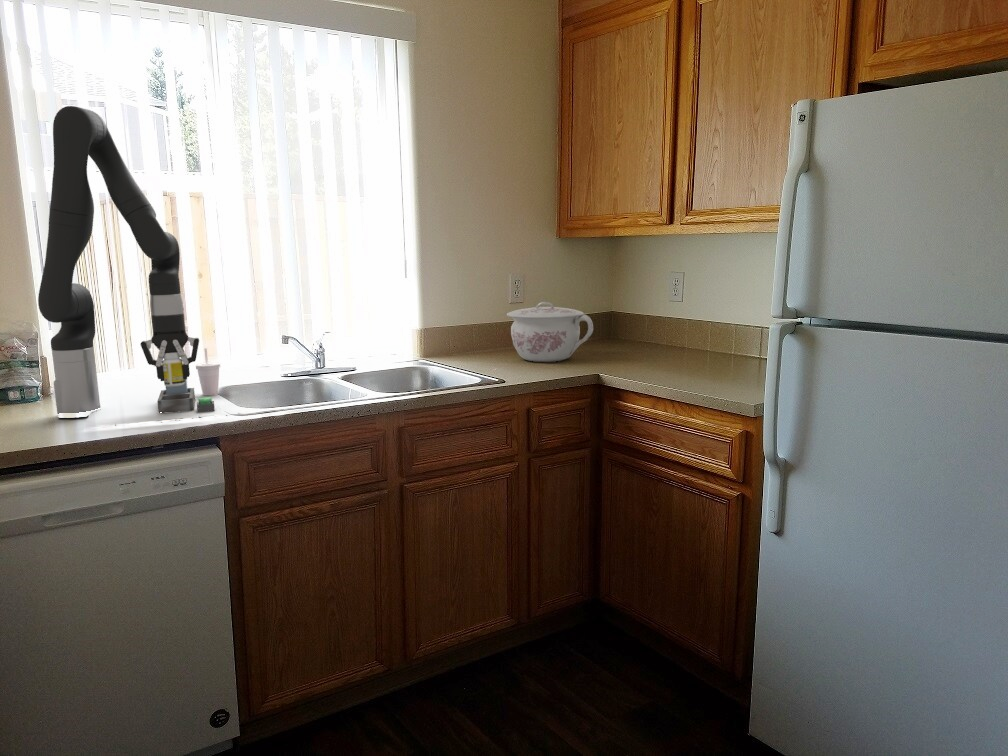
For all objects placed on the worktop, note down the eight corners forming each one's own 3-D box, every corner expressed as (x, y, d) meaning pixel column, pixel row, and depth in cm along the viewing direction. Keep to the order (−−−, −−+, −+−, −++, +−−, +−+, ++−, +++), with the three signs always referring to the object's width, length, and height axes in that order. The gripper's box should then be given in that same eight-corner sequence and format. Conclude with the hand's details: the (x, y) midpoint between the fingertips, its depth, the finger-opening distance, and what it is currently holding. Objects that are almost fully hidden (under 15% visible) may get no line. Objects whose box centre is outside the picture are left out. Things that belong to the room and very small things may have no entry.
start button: (199, 416, 189) (198, 400, 189) (199, 413, 192) (198, 397, 192) (213, 415, 191) (211, 399, 190) (213, 412, 193) (211, 396, 193)
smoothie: (215, 395, 217) (211, 346, 214) (227, 397, 213) (223, 348, 210) (194, 398, 212) (189, 349, 209) (206, 401, 208) (201, 350, 205)
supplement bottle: (187, 383, 195) (184, 350, 193) (180, 386, 190) (177, 353, 189) (168, 383, 195) (165, 351, 193) (161, 387, 190) (157, 353, 188)
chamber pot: (494, 357, 278) (493, 301, 274) (560, 352, 289) (560, 297, 286) (529, 368, 253) (528, 306, 249) (599, 361, 264) (599, 302, 261)
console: (197, 417, 189) (196, 405, 188) (198, 413, 193) (197, 402, 192) (214, 415, 190) (213, 403, 190) (214, 412, 194) (213, 400, 193)
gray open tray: (158, 418, 188) (156, 401, 188) (162, 405, 204) (160, 389, 203) (194, 415, 191) (193, 398, 190) (195, 402, 207) (194, 387, 206)
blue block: (167, 405, 198) (164, 375, 196) (168, 401, 202) (165, 372, 201) (188, 403, 200) (185, 373, 198) (188, 399, 204) (185, 370, 203)
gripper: (134, 315, 183) (141, 384, 186) (197, 312, 188) (204, 379, 191) (137, 313, 190) (144, 380, 193) (198, 310, 195) (204, 375, 198)
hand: (174, 379), depth 192 cm, fingers closed on supplement bottle, 4 cm apart
